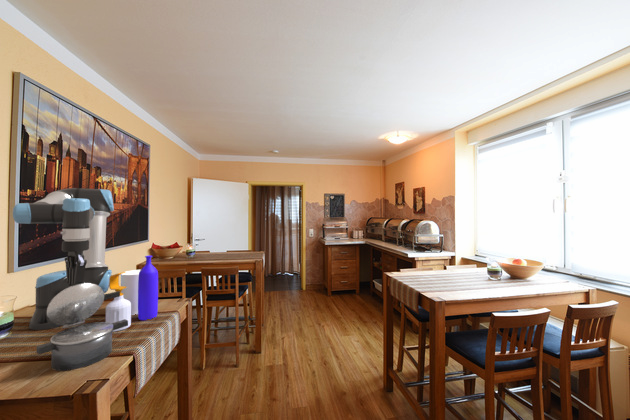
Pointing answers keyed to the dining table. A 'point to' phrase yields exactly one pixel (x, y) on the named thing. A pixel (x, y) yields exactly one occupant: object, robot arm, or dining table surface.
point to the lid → (77, 304)
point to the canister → (131, 288)
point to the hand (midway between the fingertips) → (74, 303)
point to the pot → (81, 345)
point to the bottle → (148, 291)
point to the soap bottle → (118, 304)
